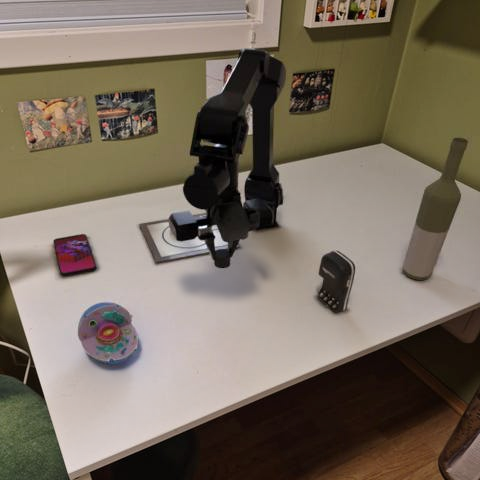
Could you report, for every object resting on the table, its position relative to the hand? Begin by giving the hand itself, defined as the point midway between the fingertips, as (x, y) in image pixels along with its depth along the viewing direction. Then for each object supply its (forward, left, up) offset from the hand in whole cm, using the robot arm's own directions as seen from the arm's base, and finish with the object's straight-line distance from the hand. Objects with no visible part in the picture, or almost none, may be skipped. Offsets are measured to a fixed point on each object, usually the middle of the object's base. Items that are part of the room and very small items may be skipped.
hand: (221, 257), depth 91 cm
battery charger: (-20, +10, -10) cm, 24 cm away
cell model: (+24, +9, -10) cm, 27 cm away
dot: (0, 0, -1) cm, 1 cm away
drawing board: (0, -25, -10) cm, 27 cm away
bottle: (-44, +7, -10) cm, 46 cm away
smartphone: (+27, -25, -10) cm, 38 cm away
